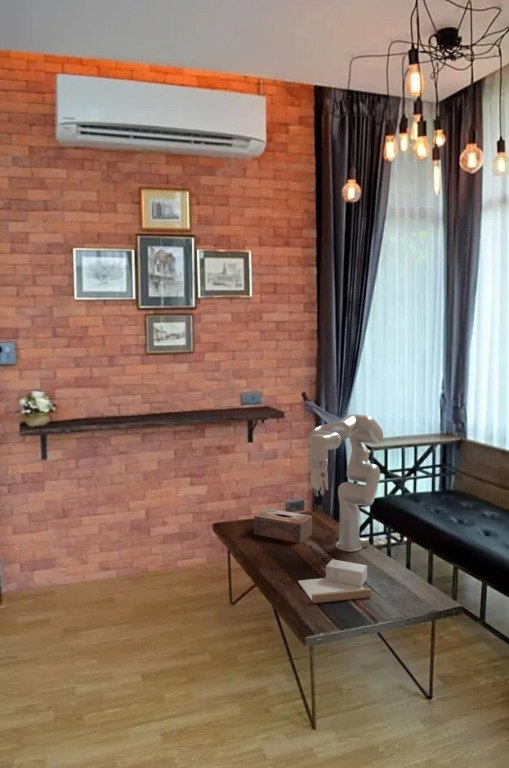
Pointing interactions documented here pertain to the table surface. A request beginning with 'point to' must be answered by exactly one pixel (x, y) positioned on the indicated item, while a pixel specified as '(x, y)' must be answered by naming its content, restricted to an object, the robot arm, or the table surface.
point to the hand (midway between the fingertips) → (318, 504)
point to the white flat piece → (332, 590)
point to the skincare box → (346, 572)
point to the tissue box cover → (283, 525)
